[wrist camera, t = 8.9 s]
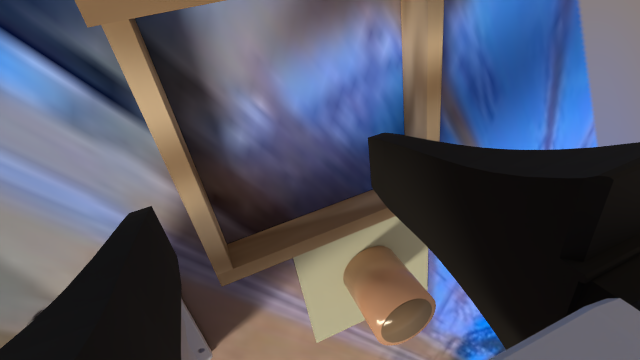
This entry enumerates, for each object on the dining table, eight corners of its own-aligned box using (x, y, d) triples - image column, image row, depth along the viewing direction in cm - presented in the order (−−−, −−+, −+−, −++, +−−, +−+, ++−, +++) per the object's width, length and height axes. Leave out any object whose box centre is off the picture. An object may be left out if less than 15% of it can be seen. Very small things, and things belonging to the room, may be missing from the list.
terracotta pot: (397, 276, 31) (437, 325, 26) (348, 300, 30) (380, 356, 25) (392, 236, 28) (435, 284, 23) (338, 261, 27) (372, 316, 22)
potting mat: (426, 288, 34) (427, 289, 33) (316, 341, 31) (316, 343, 31) (427, 190, 27) (428, 191, 27) (289, 244, 24) (290, 245, 24)
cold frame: (416, 183, 27) (462, 217, 23) (216, 260, 23) (227, 318, 19) (414, -62, 18) (486, -79, 14) (98, -7, 14) (70, -8, 10)
